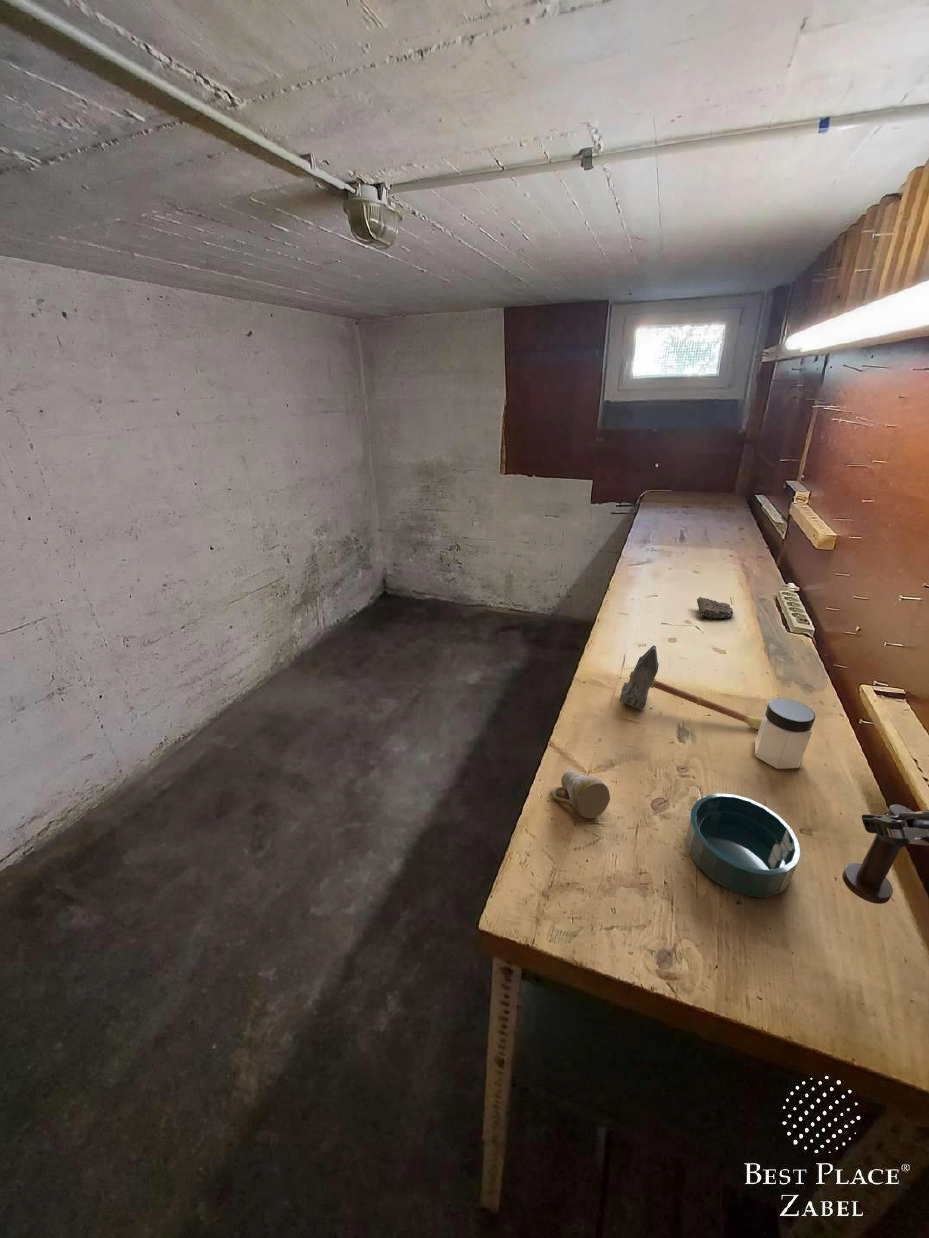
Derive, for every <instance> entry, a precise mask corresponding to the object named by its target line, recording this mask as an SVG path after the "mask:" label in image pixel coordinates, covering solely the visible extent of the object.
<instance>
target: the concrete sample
mask: <svg viewBox="0 0 929 1238" xmlns="http://www.w3.org/2000/svg"><path fill="white" fill-rule="evenodd" d="M696 603H697V607H698V610H697V611H698V614H699V615H700V616H705V617H706V618H708V619H724V618H727V619H728V618H730V617H734V610H733V608H732V607H730V606H731V605H730V604H729V603H727V602H719V601H717V600H713V599H709V598H707V597H706V598H705V597H702V596H699V597H698V598H697V599H696Z"/></svg>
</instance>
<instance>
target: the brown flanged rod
mask: <svg viewBox="0 0 929 1238" xmlns="http://www.w3.org/2000/svg"><path fill="white" fill-rule="evenodd" d="M886 812H887V814H890V815H894V816H898V814H899V813H904V812H914V811H913V810H912V809H910V808H908V807H906V806H904V805H901V804H891V805H890V806H889V808H888V810H887V811H886ZM915 819H917V818H915ZM902 848H903V847H900V846H897V845H894V844H891V843H889V842H886V841H884V840H881V839H880V838H879V834H875V836H874V838H873V840H872V842H871V844H870V846H869V848H868V851H867V852H866V854H865V856H864V858H863V860H862V862H860V863H859V862H851V863H848V864H847V865H846V866H845V868H844V870H843V871H842V875H841V876H842V880H843V883H844V885H845V886H846V888H848V890H849V891H851V892H852V893H853V894H854V895H855V896H857V897H858V898H860V899H862V900H864V901H866V902H869V903H872V904H876V905H882V904H886V903H888V902H889V901H890V899H891V898H892V896H893V894H894V889H893V885H892V883H891V882H890V881H889V879H888V878H887V875H888V874H889V872H890V869H891V868H892V866H893V865H894V863H895V861H896V859H897V857H898V855H899V853H900V852H901V850H902Z"/></svg>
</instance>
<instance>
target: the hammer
mask: <svg viewBox="0 0 929 1238" xmlns="http://www.w3.org/2000/svg"><path fill="white" fill-rule="evenodd" d="M658 670H659V662H658V653H657V646H656V645H654V644H653V645H652V646H651V647H650V648H649V649H648V650H647V651H646V652H645V653H644V654H643V655H642V656H639V658H638V660H637V662H636V665H635V667H634V669H633V671H630V673H629V676H628V677H629V679H628V682H625V681H624V683H623V686H622V688H621V692H620V696H619V702H621V703H622V704H626V705H628V706H631V707H632V708H635V709H637V710H641V711H642V710H644V709H645V707H646V705H647V701H648V695H649V690H650V688H651V689H657V690H659V691H661V692H665V693H667V694H670V695H672V696H675V697H677V698H681V699H683V700H686V701H688V702H691V703H694V704H696V705H697V706H701V707H704V708H705V709H706V708H707V709H709V710H711V711H714V712H717V713H719V714H722V715H724V716H727V717H730V718H733V719H735V720H737V721H740V722H743V723H744V724H747V725H748V726H749V727H750V728H753V729H756V730H758V731H759V728H760V725H761V722H762V719H763V718H761V717H758V716H756V715H748V714H744V713H743V712H742V713H741V712H739V711H738V710H737V711H736V710H734V709H731V708H729V707H726V706H723V705H721V704H718V703H716V702H714V701H710V700H708V699H707V698H706V699H705V698H703V697H702V696H698V695H695V694H693V693H690V692H687V691H685V690H682V689H679V688H677V687H674V686H672V685H669V684H666V683H664V682H661V681H659V680H657V678H656V676H657V674H658Z"/></svg>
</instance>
